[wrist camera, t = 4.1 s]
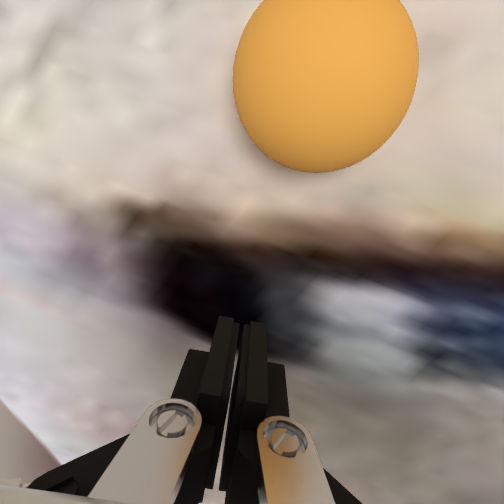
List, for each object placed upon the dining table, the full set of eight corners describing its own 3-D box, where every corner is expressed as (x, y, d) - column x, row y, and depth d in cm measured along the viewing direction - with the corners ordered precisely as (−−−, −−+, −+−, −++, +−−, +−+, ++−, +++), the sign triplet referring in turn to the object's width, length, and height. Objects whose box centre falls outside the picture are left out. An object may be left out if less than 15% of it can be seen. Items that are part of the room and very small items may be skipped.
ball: (385, 161, 14) (455, 162, 8) (250, 177, 14) (236, 188, 9) (382, 5, 12) (463, -113, 7) (232, 29, 13) (203, -62, 7)
